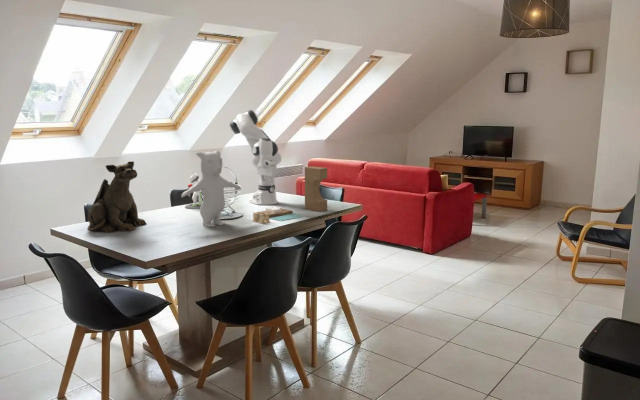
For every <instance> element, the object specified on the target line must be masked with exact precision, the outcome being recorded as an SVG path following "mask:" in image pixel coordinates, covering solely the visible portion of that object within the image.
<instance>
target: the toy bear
mask: <svg viewBox="0 0 640 400" xmlns="http://www.w3.org/2000/svg"><path fill="white" fill-rule="evenodd" d="M195 155H196V156H197V157H199V158H200V172H201V176H200V178H198V180H197V182H196V183H195V184H194V183H193V184H194V186H192V187H190V188H189V189H188V188H187V190H185V191H183V192H182V193H181V195H180V197H181V198H184V197H186V196H188V198H190V197H191V196H192V195H191V194H194V192H196V191H200V190H201V195H202V201H203V202H202V204H201V207H200V209H199V214H200V217H201V218H202V220H203V221H202V226H204V227H205V228H215V227H216V226H224V225H226V222H225V221H222V220H221V215H222V212H223V211H224V210H225V207H226V201H225V191H224V190H225V188H234V189H235V190H237V191H239V190H242V187H241V186H240V185H238V184H236V183H233V182H232V181H229V180H227V179H226V178H224V177H223V176H221V174H222V169H223V158H222V157H221V156H222V155H221V151H220V150H215V151H213V152H212V151H207V152H202V151H196V152H195Z"/></svg>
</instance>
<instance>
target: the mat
mask: <svg viewBox="0 0 640 400" xmlns="http://www.w3.org/2000/svg"><path fill="white" fill-rule="evenodd" d="M304 217H305V216H304V215H300V214H295V213H293V214H287V215H282V216H277V217H271V218H269V220H273V221H276V222H277V221H278V222H284V221H290V220H294V219H300V218H304Z"/></svg>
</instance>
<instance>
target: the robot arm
mask: <svg viewBox="0 0 640 400" xmlns="http://www.w3.org/2000/svg"><path fill="white" fill-rule="evenodd" d="M258 121H259V118H258V115H257V112H255V111H254V110H252V109H251V110H249V109H248V110H247V111H246V112H243V113H239V114H237V115H236V117H235V119H233V120H231V121H230V122H229V128H230V130H231V132H232V133H234V135H238V134H241V135H243V136H244V137H245V139H246V142H247V143H248V145H249V147H250V148H251V153H252V156H251V164H252V165H253V167H255V168H256V169H257V170H256V171H257V175H259V177H258V178H259V185H257V187H258V188H257V190H256V191H255V192H254V193H253V194H252V199H251V200H249V202H250V203H252V204H255V205H259V206H261V205H262V206H264V205H265V206H269V205H275V204H277V203H278V199H277V192H276V191H275V190H276V185H275V178H276V177H277V176H278V167H277V165H279V164H280V163H281V162H282V154H281V153H280V152H279V147H278V145H277V144H276V142H274V141H273V140H272V139H271V138H270V137H269V136H268V135H267V134H266V132H264V130H263V129H261V128H260V127H258V126H257V124H258Z"/></svg>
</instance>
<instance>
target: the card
mask: <svg viewBox="0 0 640 400" xmlns="http://www.w3.org/2000/svg"><path fill="white" fill-rule="evenodd" d="M265 211H267V212H272V213H277V212H281V209H279V208H277V207H275V206H271V207H266V208H265Z"/></svg>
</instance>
